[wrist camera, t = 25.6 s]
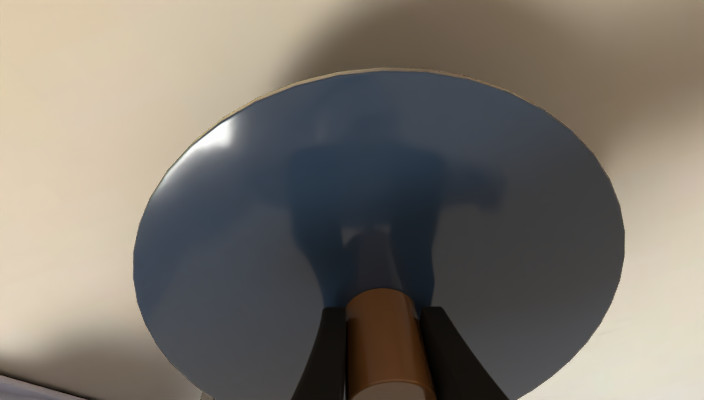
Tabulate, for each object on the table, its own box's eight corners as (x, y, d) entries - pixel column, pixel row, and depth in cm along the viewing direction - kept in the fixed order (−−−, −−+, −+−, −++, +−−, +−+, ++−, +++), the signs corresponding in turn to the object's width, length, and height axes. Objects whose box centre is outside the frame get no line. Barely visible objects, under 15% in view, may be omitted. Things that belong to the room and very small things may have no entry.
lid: (154, 395, 16) (100, 518, 12) (133, -11, 8) (-27, -5, 5) (488, 429, 18) (526, 542, 15) (713, 133, 11) (912, 215, 7)
